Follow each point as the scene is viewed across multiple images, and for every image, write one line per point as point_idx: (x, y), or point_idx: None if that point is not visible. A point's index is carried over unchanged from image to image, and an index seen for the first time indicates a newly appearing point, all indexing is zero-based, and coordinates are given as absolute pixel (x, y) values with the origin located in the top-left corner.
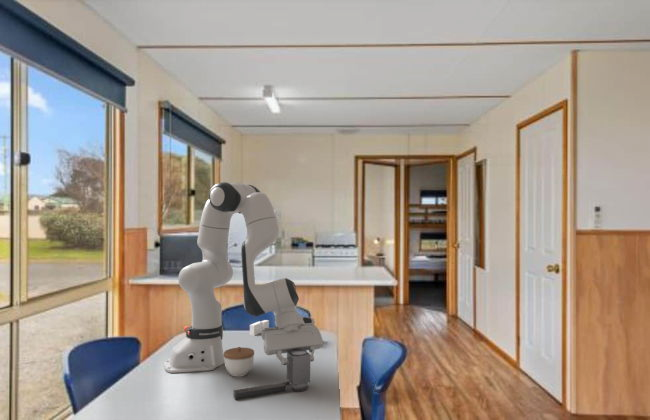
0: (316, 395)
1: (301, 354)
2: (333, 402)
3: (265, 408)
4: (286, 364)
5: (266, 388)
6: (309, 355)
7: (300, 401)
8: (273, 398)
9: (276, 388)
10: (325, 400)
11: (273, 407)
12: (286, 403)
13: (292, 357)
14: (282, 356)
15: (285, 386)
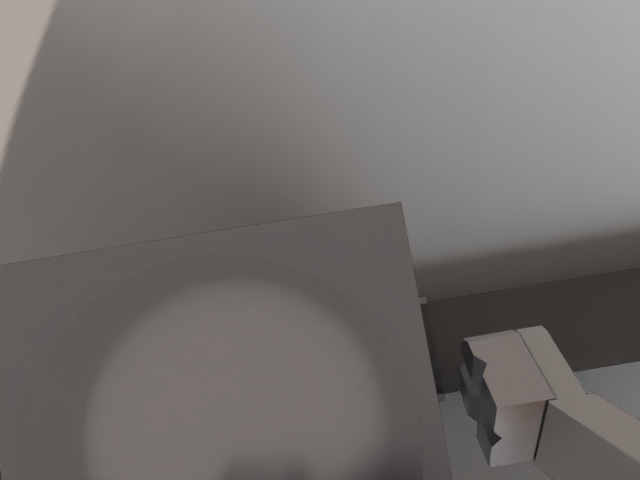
0: (161, 165)
1: (190, 259)
2: (67, 3)
3: (610, 23)
4: (464, 365)
5: (622, 274)
6: (17, 265)
7: (320, 81)
8: (534, 191)
9: (515, 288)
10: (117, 52)
11: (548, 25)
12: (438, 71)
13: (402, 240)
14: (591, 428)
15: (425, 299)
